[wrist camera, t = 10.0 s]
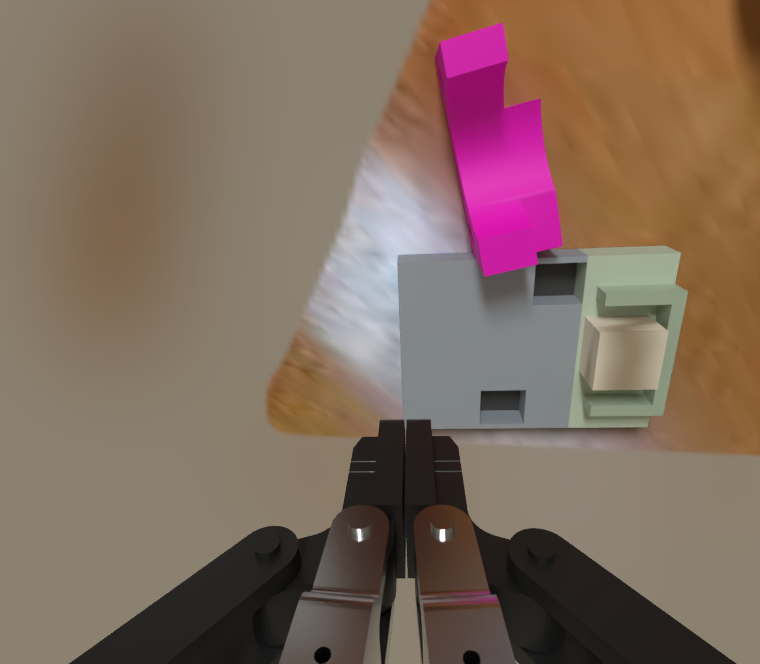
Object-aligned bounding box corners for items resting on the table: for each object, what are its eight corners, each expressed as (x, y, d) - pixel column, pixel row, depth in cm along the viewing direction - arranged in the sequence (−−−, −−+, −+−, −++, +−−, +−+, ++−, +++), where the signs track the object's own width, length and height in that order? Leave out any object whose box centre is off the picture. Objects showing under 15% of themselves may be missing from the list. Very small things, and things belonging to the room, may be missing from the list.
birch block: (647, 314, 40) (668, 331, 37) (638, 369, 42) (657, 389, 39) (585, 316, 40) (600, 333, 37) (578, 370, 42) (592, 390, 39)
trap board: (665, 245, 40) (694, 259, 36) (635, 412, 46) (657, 440, 42) (398, 255, 42) (396, 269, 38) (404, 414, 48) (403, 442, 44)
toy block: (547, 233, 41) (574, 255, 34) (472, 251, 41) (484, 276, 35) (519, 32, 35) (546, 9, 28) (434, 58, 36) (439, 41, 29)
